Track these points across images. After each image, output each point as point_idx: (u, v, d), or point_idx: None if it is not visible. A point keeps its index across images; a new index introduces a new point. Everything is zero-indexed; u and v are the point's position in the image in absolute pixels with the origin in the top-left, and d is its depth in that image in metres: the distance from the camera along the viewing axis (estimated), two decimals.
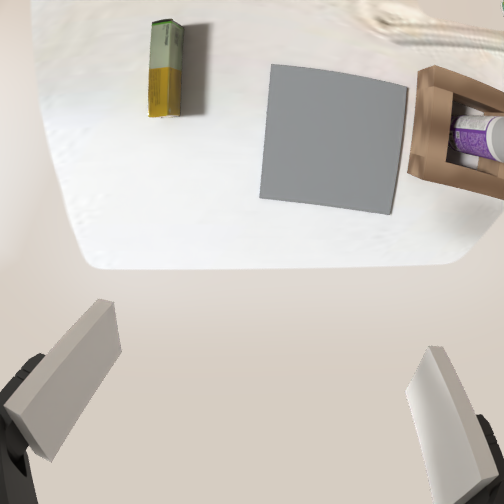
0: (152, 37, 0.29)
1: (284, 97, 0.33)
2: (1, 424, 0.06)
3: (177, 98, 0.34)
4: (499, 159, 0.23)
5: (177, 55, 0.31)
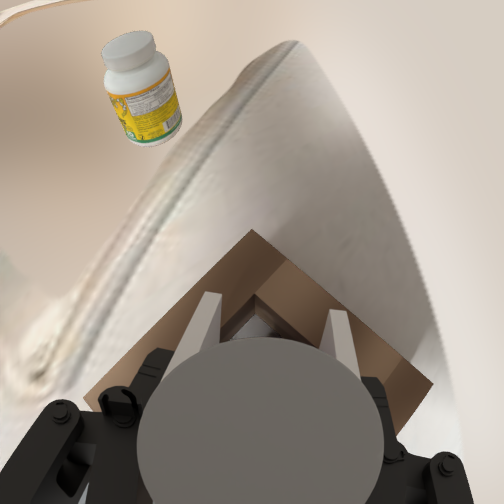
0: None
1: None
2: None
3: None
4: None
5: None
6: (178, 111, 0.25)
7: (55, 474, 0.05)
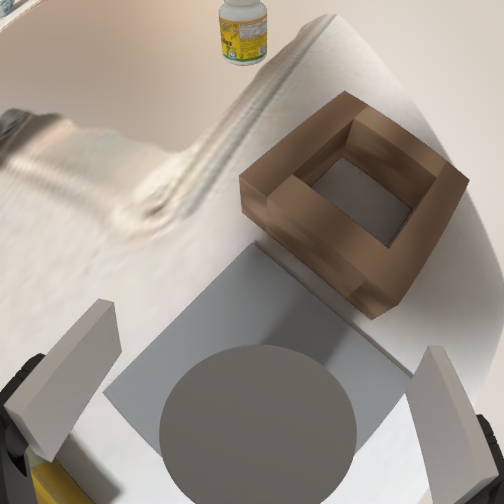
0: None
1: (152, 417, 0.19)
2: (1, 424, 0.06)
3: (77, 495, 0.16)
4: None
5: None
6: (266, 43, 0.32)
7: None
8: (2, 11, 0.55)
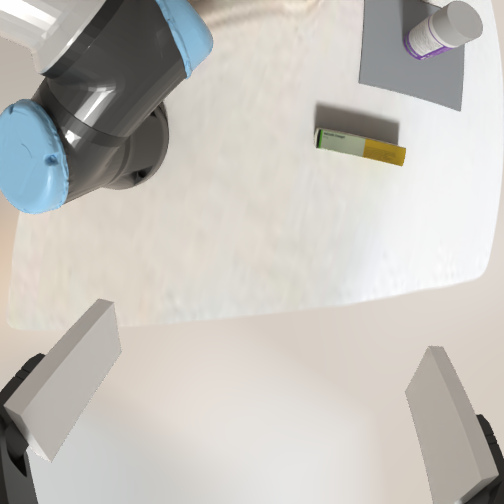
0: (332, 149, 0.38)
1: (387, 77, 0.36)
2: (1, 424, 0.06)
3: None
4: None
5: (349, 133, 0.39)
6: None
7: None
8: None
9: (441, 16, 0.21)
